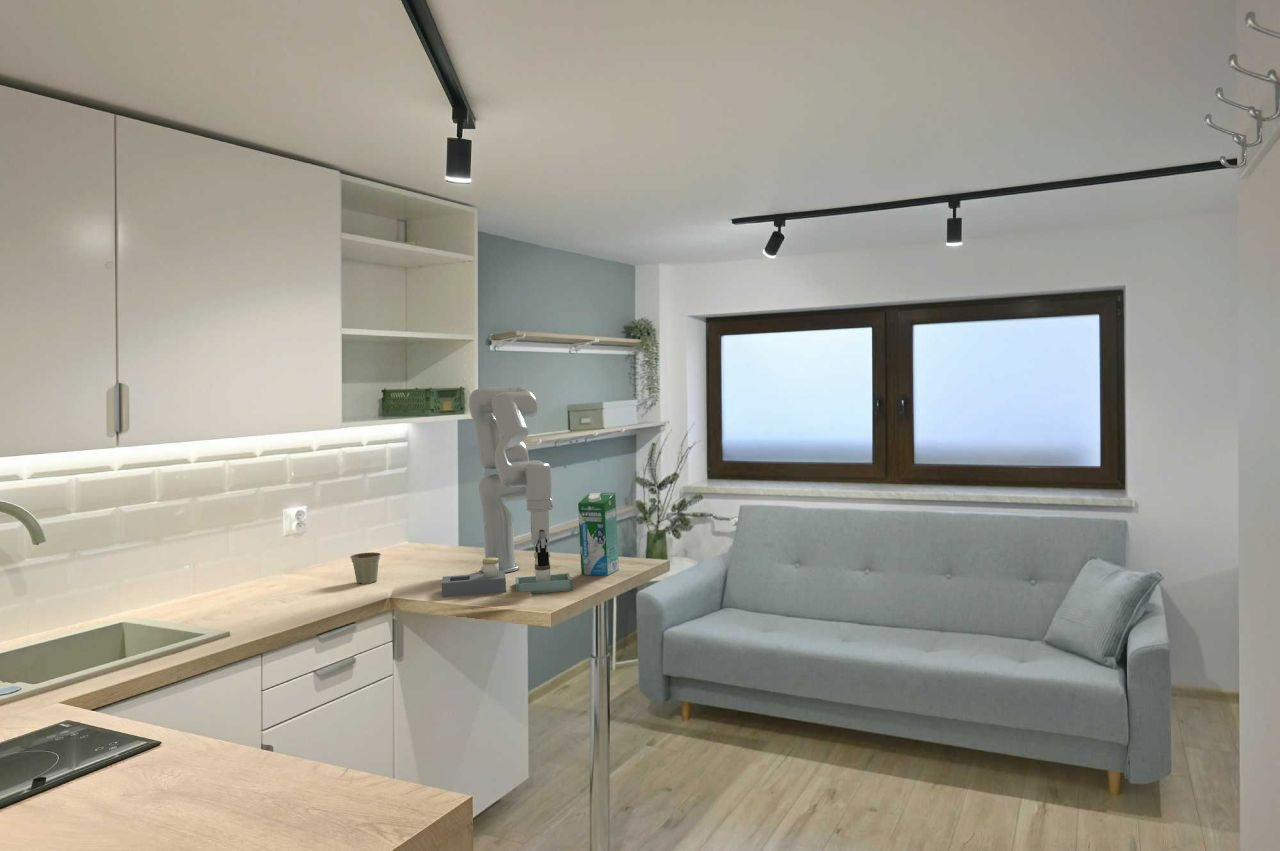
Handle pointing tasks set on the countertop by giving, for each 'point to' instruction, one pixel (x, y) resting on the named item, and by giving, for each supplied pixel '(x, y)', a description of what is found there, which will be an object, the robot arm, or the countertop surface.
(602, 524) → the milk carton
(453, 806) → the countertop surface
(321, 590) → the countertop surface
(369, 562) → the flower pot
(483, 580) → the block
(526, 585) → the tray
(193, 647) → the countertop surface
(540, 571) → the fuse
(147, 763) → the countertop surface
